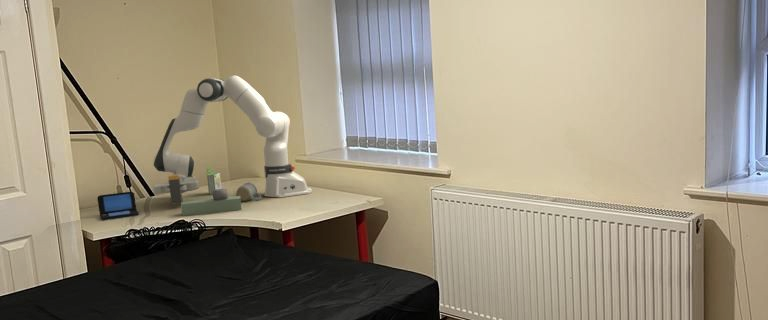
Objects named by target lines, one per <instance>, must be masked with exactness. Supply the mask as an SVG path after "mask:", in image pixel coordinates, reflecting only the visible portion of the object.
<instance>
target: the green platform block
mask: <svg viewBox="0 0 768 320" xmlns="http://www.w3.org/2000/svg"><path fill="white" fill-rule="evenodd" d="M212 197H213V198H208V199H207V198H206V199H197V200H188V201H187V200H186V201H182V203H180V208H181V215H182V217H184V216H192V215H193V216H194V215H203V214H204V215H205V214H212V213H213V214H214V213H222V212H223V213H224V212H231V211H232V212H234V211H242V209H243V208H242V201H241V198H240V196H228V189H227V188H221V189H216V190H213V195H212Z"/></svg>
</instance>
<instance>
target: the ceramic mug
mask: <svg viewBox="0 0 768 320" xmlns="http://www.w3.org/2000/svg"><path fill="white" fill-rule="evenodd" d="M235 195H236V196H240V198H241V202H248V201H250V200H253V201H257V202H258V201H261V199H262V195H261V194H259V193H258V188H257V187H256V186H255V184H253V183H251V182H245V183H244V184H242V185H240V187H238V189H237V190H236V193H235Z"/></svg>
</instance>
